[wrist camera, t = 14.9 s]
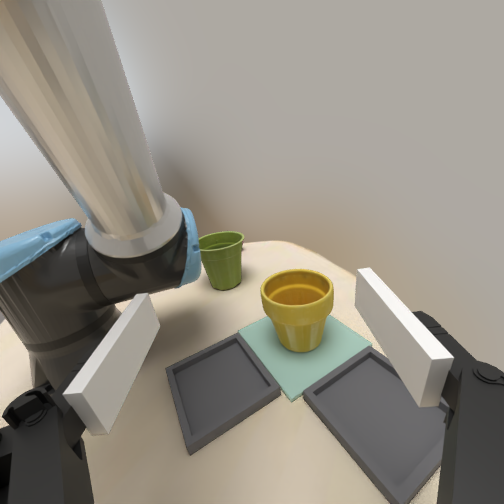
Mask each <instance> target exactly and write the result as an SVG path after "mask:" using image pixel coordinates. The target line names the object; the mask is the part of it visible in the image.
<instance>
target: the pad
mask: <svg viewBox="0 0 504 504" xmlns="http://www.w3.org/2000/svg"><path fill="white" fill-rule="evenodd" d="M238 333H239V334H240V336H241V337H242V338H243V339H244V341H245V342H246V343H247V345H248V346H249V347H250V349H251V350H252V351H253V353H254V354H255V355H256V356H257V358H258V359H259V360H260V362H261V363H262V364H263V366H264V367H265V368H266V369H267V371H268V372H269V373H270V375H271V376H272V377H273V379H274V380H275V381H276V382H277V384H278V385H279V386H280V388H281V389H282V391H283V392H284V393H285V395H286V396H287V397H288V399H289V400H290V401H291V402H293V401H294V400H295V399H297V398H298V397H300V396H301V395H303V390H305V389H306V388H308V387H309V386H311V385H312V384H313V383H315V382H316V381H318V380H319V379H321V378H322V377H324V376H325V375H327V374H328V373H329V372H331V371H332V370H334V369H335V368H337V367H338V366H340V365H341V364H342V363H344V362H345V361H347V360H348V359H350V358H351V357H353V356H354V355H356V354H357V353H358V352H360V351H361V350H363V349H364V348H366V347H367V346H371V347H372V343H371V342H369V341H368V340H366V339H365V338H363V337H362V336H360V335H359V334H357V333H356V332H354V331H353V330H351V329H350V328H348V327H347V326H345V325H344V324H342V323H341V322H340V321H338V320H337V319H335V318H334V317H332V316H331V315H328V316H327V318H326V322H325V326H324V330H323V335H322V339H321V342H320V344H319V345H318V347H316V348H315V349H314V350H311V351H309V352H294V351H291V350H289V349H287V348H285V347H284V346H283V345H282V344H281V342H280V340H279V338H278V335H277V332H276V330H275V328H274V325H273V323H272V320H271V319H270V318H269V317H268V316H267V317H265V318H263V319H261V320H259V321H257V322H255V323H253V324H251V325H249V326H246V327H244V328H242V329H240V330H238Z"/></svg>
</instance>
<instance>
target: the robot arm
mask: <svg viewBox="0 0 504 504" xmlns="http://www.w3.org/2000/svg"><path fill="white" fill-rule="evenodd" d="M0 96H1V97H2V99H3V100H4V101H5V103H6V104H7V106H8V107H9V108H10V110H11V111H12V113H13V114H14V115H15V117H16V118H17V119H18V121H19V122H20V123H21V125H22V126H23V127H24V129H25V131H26V132H27V133H28V135H29V136H30V138H31V139H32V140H33V142H34V143H35V144H36V146H37V147H38V149H39V150H40V151H41V153H42V154H43V156H44V157H45V158H46V160H47V161H48V163H49V164H50V165H51V167H52V168H53V170H54V171H55V172H56V174H57V175H58V176H59V178H60V179H61V181H62V182H63V183H64V185H65V186H66V188H67V189H68V190H69V192H70V193H71V195H72V196H73V197H74V198H75V200H76V201H77V203H78V204H79V206H80V207H81V208H82V210H83V211H84V212H85V214H86V215H87V217H88V219H87V222H86V226H85V228H81V226H82V225H81V223H79V222H78V221H77V220H76V219H74V218H70V219H66V220H60V221H57V222H53V223H50V224H47V225H44V226H41V227H38V228H35V229H32V230H29V231H26V232H24V233H21V234H18V235H15V236H13V237H10V238H8V239H5V240H3V241H0V311H1V312H2V314H3V316H4V317H5V318H6V320H7V321H8V323H9V324H10V325H11V327H12V328H13V330H14V331H15V333H16V334H17V336H18V337H19V338H20V340H21V341H22V343H23V344H24V345H25V347H26V349H27V350H28V352H29V358H30V367H31V376H32V385H33V389H31V390H29V391H27V392H25V393H23V394H22V395H20V396H19V397H17V398H16V399H15V400H14V401H12V402H11V403H10V404H9V405H8V407H7V408H6V409H5V410H4V413H3V415H2V417H3V418H4V420H5V421H6V422H7V423H8V424H9V426H6V427H3V428H1V429H0V504H94V499H93V493H92V487H91V481H90V475H89V469H88V464H87V458H86V452H85V446H84V441H83V439H82V438H81V435H82V434H83V432H84V430H85V428H87V430H88V431H89V433H90V434H91V435H92V436H93V435H104V434H109V432H110V430H111V428H112V426H113V424H114V422H115V420H116V418H117V416H118V414H119V412H120V409H121V407H122V405H123V403H124V401H125V399H126V397H127V395H128V393H129V391H130V389H131V387H132V384H133V382H134V380H135V378H136V376H137V374H138V372H139V370H140V368H141V366H142V364H143V362H144V360H145V357H146V355H147V353H148V351H149V349H150V347H151V345H152V343H153V341H154V339H155V337H156V335H157V332H158V330H159V328H160V323H159V321H158V318H157V315H156V313H155V310H154V307H153V305H152V302H151V299H150V297H149V294H153V293H157V292H161V291H165V290H169V289H173V288H180V287H181V286H182V285H185V284H188V283H192V282H194V281H196V280H197V279H198V278H199V276H200V274H201V254H200V248H199V239H198V233H197V229H196V224H195V221H194V217H193V214H192V212H191V211H190V210H189V209H187V208H180V206H179V204H178V203H177V201H176V200H175V199H174V198H173V197H171V196H169V195H168V194H165V193H163V190H162V187H161V184H160V181H159V178H158V175H157V172H156V169H155V165H154V163H153V159H152V157H151V153H150V150H149V147H148V144H147V141H146V138H145V134H144V132H143V128H142V125H141V122H140V119H139V116H138V113H137V110H136V107H135V103H134V100H133V97H132V94H131V91H130V88H129V85H128V82H127V79H126V76H125V72H124V70H123V66H122V63H121V60H120V57H119V54H118V51H117V48H116V45H115V42H114V38H113V35H112V32H111V29H110V26H109V23H108V20H107V17H106V14H105V11H104V7H103V4H102V1H101V0H0ZM131 299H132V301H131V302H130V304H129V305H128V306H127V308H126V309H125V310H124V312H123V313H121V312H120V311H119V310H118V309H117V308H116V306H115V304H116V303H120V302H123V301H127V300H131ZM355 307H356V308H357V310H358V312H359V313H360V315H361V316H362V318H363V320H364V321H365V323H366V324H367V326H368V327H369V329H370V331H371V332H372V334H373V335H374V337H375V339H376V340H377V342H378V343H379V345H380V346H381V348H382V350H383V351H384V353H385V354H386V356H387V357H388V359H389V361H390V362H391V364H392V365H393V367H394V369H395V370H396V372H397V373H398V375H399V376H400V378H401V380H402V381H403V383H404V384H405V386H406V388H407V389H408V391H409V392H410V394H411V395H412V397H413V399H414V400H415V402H416V403H417V405H418V406H419V408H420V407H432V406H439V403H440V400H441V397H443V399H444V400H445V401H446V403H447V404H448V405H449V407H448V410H447V413H446V416H445V419H444V422H443V423H445V424H446V427H445V435H444V444H443V453H442V462H441V470H440V479H439V488H438V497H437V504H504V373H503V372H502V371H501V370H499V369H498V368H496V367H494V366H492V365H490V364H487V363H483V362H480V361H477V360H476V359H475V358H474V357H472V355H470V353H468V352H467V351H466V350H465V349H464V348H463V347H462V346H461V345H460V344H459V343H458V342H457V341H456V340H455V339H454V338H453V337H452V336H451V335H450V334H448V332H447V331H446V330H445V329H444V328H442V327H441V325H440V324H438V322H437V321H435V319H433V318H432V317H431V316H429V315H427V314H425V313H423V312H422V311H417V312H411V311H410V310H409V309H408V308H407V307H406V306H405V305H404V304H403V303H402V302H401V301H400V299H399V298H398V297H397V296H396V295H395V294H394V293H393V292H392V291H391V290H390V289H389V288H388V287H387V286H386V285H385V283H384V282H383V281H382V280H381V279H380V278H379V277H378V276H377V275H376V274H375V273H374V272H373V271H372V270H371V268H363V269H357V278H356V293H355Z"/></svg>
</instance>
